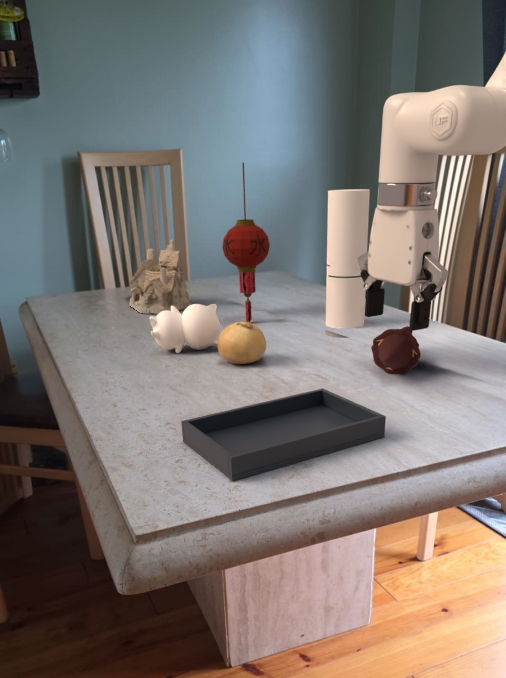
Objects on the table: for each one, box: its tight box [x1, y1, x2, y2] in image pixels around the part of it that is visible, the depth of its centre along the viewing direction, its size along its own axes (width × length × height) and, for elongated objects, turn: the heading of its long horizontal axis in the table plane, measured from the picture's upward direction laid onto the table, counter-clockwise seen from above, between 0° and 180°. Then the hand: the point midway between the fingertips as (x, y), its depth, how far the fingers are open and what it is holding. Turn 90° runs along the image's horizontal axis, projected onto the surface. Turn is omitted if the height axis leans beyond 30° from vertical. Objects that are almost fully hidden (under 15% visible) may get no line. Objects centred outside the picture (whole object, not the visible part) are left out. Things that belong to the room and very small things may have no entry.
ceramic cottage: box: [128, 239, 192, 315], centre depth 143 cm, size 16×16×15 cm
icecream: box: [370, 325, 422, 375], centre depth 93 cm, size 7×7×15 cm
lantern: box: [221, 162, 271, 324], centre depth 122 cm, size 10×10×30 cm
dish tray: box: [180, 387, 387, 482], centre depth 72 cm, size 12×20×3 cm, turn 120°
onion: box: [217, 319, 267, 365], centre depth 101 cm, size 8×8×7 cm
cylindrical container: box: [325, 188, 371, 339], centre depth 113 cm, size 7×7×25 cm
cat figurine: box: [149, 303, 221, 354], centre depth 110 cm, size 9×11×12 cm
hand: (395, 322), depth 92 cm, fingers open, 9 cm apart
